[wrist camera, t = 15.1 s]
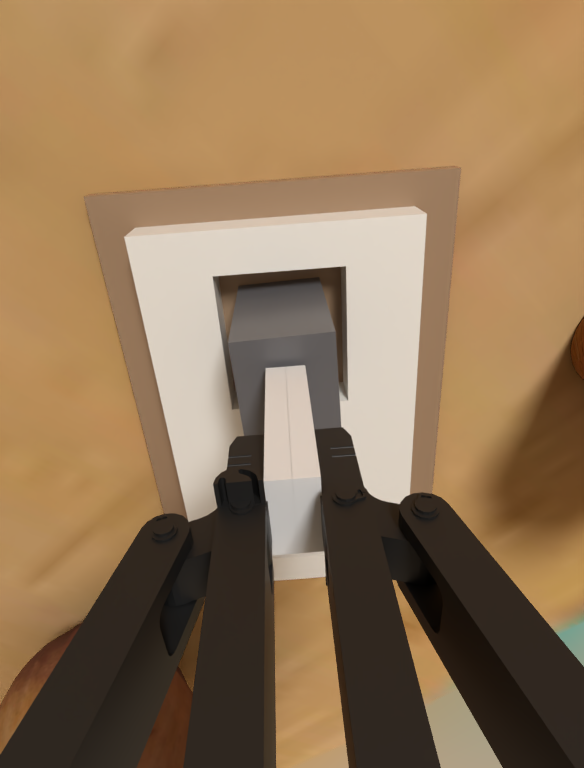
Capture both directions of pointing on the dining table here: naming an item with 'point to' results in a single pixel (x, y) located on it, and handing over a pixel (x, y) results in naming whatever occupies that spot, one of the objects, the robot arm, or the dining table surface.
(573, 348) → the disposable coffee cup
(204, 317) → the socket board
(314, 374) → the plug
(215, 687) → the robot arm
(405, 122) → the dining table surface
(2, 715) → the butternut squash
